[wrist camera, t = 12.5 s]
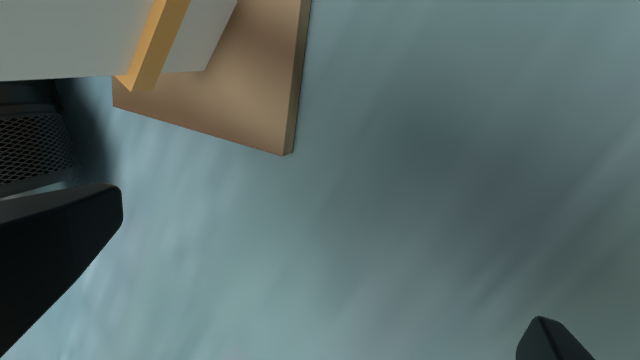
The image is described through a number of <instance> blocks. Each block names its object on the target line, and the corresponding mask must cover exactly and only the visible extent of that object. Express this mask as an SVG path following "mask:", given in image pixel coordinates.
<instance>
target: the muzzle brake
mask: <svg viewBox="0 0 640 360" xmlns="http://www.w3.org/2000/svg"><path fill="white" fill-rule="evenodd" d="M62 111H63V107H62V104H61V102H60V99H59V96H58V93H57V90H56V88H55V85H54V82H53V79H36V80H16V81H0V201H2V200H7V199H12V198H18V197H23V196H28V195H34V194H39V193H44V192H50V191H55V190H60V189H66V188H71V187H75V185H74V182H73V180H72V178H75V177H78V176H79V171H80V164H79V161H78V158H77V155H76V152H75V150H74V147H73V144H72V141H71V139H70V136H69V133H68V130H67V127H66V125H65V122H64V119H63V117H62V115H61V114H59V113H60V112H62Z"/></svg>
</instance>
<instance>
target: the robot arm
mask: <svg viewBox="0 0 640 360" xmlns="http://www.w3.org/2000/svg"><path fill="white" fill-rule="evenodd" d="M122 222H123V206H122V194H121V190H120V189H119V188H118V187H117V186H114V185H111V184H108V183H104V182H97V183H92V184H87V185H81V186H76V187H71V188H66V189H60V190H55V191H50V192H44V193H39V194H34V195H28V196H23V197H18V198H12V199H7V200H2V201H0V358H1V357H2V356H3V355H4V354H5V353H6V352H7V351H8V350H9V349H10V348H11V347H12V346H13V345H14V344H15V343H16V342H17V341H18V340H19V339H20V338H21V337H22V336H23V335H24V334H25V333H26V332H27V331H28V329H29V328H30V327H31V326H32V325H33V324H34V323H35V322H36V321H37V320H38V319H39V318H40V317H41V316H42V315H43V314H44V313H45V312H46V311H47V310H48V309H49V308H50V307H51V306H52V305H53V304H54V303H55V302H56V301H57V300H58V299H59V298H60V297H61V296H62V295H63V294H64V293H65V292H66V291H67V290H68V289H69V288H70V287H71V286H72V285H73V284H74V283H75V281H76V280H77V279H78V278H79V277H80V276H81V275H82V273H83V272H84V271H85V270H86V269H87V267H88V266H89V265H90V264H91V263H92V261H93V260H94V259H95V258H96V256H97V255H98V254H99V253H100V251H101V250H102V249H103V248H104V246H105V245H106V244H107V243H108V242H109V240H110V239H111V238H112V237H113V235H114V234H115V233H116V232H117V230H118V229H119V228H120V226H121V224H122ZM516 360H595V359H594V358H593V357H592V356H591V354H590V353H589V352H588V351H587V350H586V349H585V348H584V347H583V346H582V345H581V344H580V343H579V342H578V340H577V339H576V338H575V337H574V336H573V335H572V334H571V333H570V332H569V331H568V330H567V329H566V328H565V326H564V325H563V324H561V323H560V322H558V321H555V320H552V319H549V318H545V317H542V316H537V317H535V318H534V319H533V320H532V321H531V323H530V325H529V326H528V328H527V330H526V332H525V333H524V335H523V337H522V338H521V340H520V342H519V344H518V346H517V350H516Z"/></svg>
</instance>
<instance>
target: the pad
mask: <svg viewBox="0 0 640 360" xmlns="http://www.w3.org/2000/svg"><path fill="white" fill-rule="evenodd" d="M237 1H238V2H237V4H236V6H235V8H234V10H233V12H232V14H231V16H230V18H229V20H228V22H227V25H226V27H225V29H224V31H223V33H222V35H221V37H220V39H219V41H218V43H217V45H216V47H215V49H214V51H213V54H212V56H211V58H210V60H209V62H208V64H207V66H206V68H205V70H204V71H192V72H172V73H160V75H159V77H158V80H157V82H156V84H155V87H154V89H153V90H147V91H136V92H130V91H129V90H128V89H127V88H126V87H125V86H124V85H123V84H122V83H121V82H120V81H119V80H118V79H117V78H116V77H115V76H112V95H113V106H114V107H117V108H120V109H124V110H127V111H130V112H134V113H137V114H141V115H144V116H147V117H151V118H154V119H158V120H161V121H164V122H168V123H171V124H174V125H178V126H181V127H185V128H188V129H191V130H195V131H198V132H201V133H205V134H208V135H212V136H215V137H218V138H222V139H225V140H228V141H232V142H235V143H239V144H242V145H245V146H249V147H252V148H256V149H259V150H262V151H266V152H269V153H272V154H276V155H279V156H285V155H287V154H290V153H292V150H293V142H294V134H295V126H296V118H297V110H298V102H299V94H300V86H301V78H302V70H303V62H304V54H305V46H306V38H307V30H308V23H309V15H310V7H311V0H237Z"/></svg>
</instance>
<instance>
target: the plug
mask: <svg viewBox="0 0 640 360" xmlns="http://www.w3.org/2000/svg"><path fill="white" fill-rule="evenodd" d="M237 2H238V1H237V0H0V81H16V80H36V79H55V78H75V77H94V76H115V77H116V78H117V79H118V80H119V81H120V82H121V83H122V84H123V85H124V86H125V87H126V88H127V89H128V90H129V91H130V92H136V91H147V90H153V89H154V87H155V84H156V82H157V80H158V77H159V75H160V73H172V72H192V71H204V70H205V68H206V66H207V64H208V62H209V60H210V58H211V56H212V54H213V51H214V49H215V47H216V45H217V43H218V41H219V39H220V37H221V35H222V33H223V31H224V29H225V27H226V25H227V22H228V20H229V18H230V16H231V14H232V12H233V10H234V8H235V6H236V4H237Z"/></svg>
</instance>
